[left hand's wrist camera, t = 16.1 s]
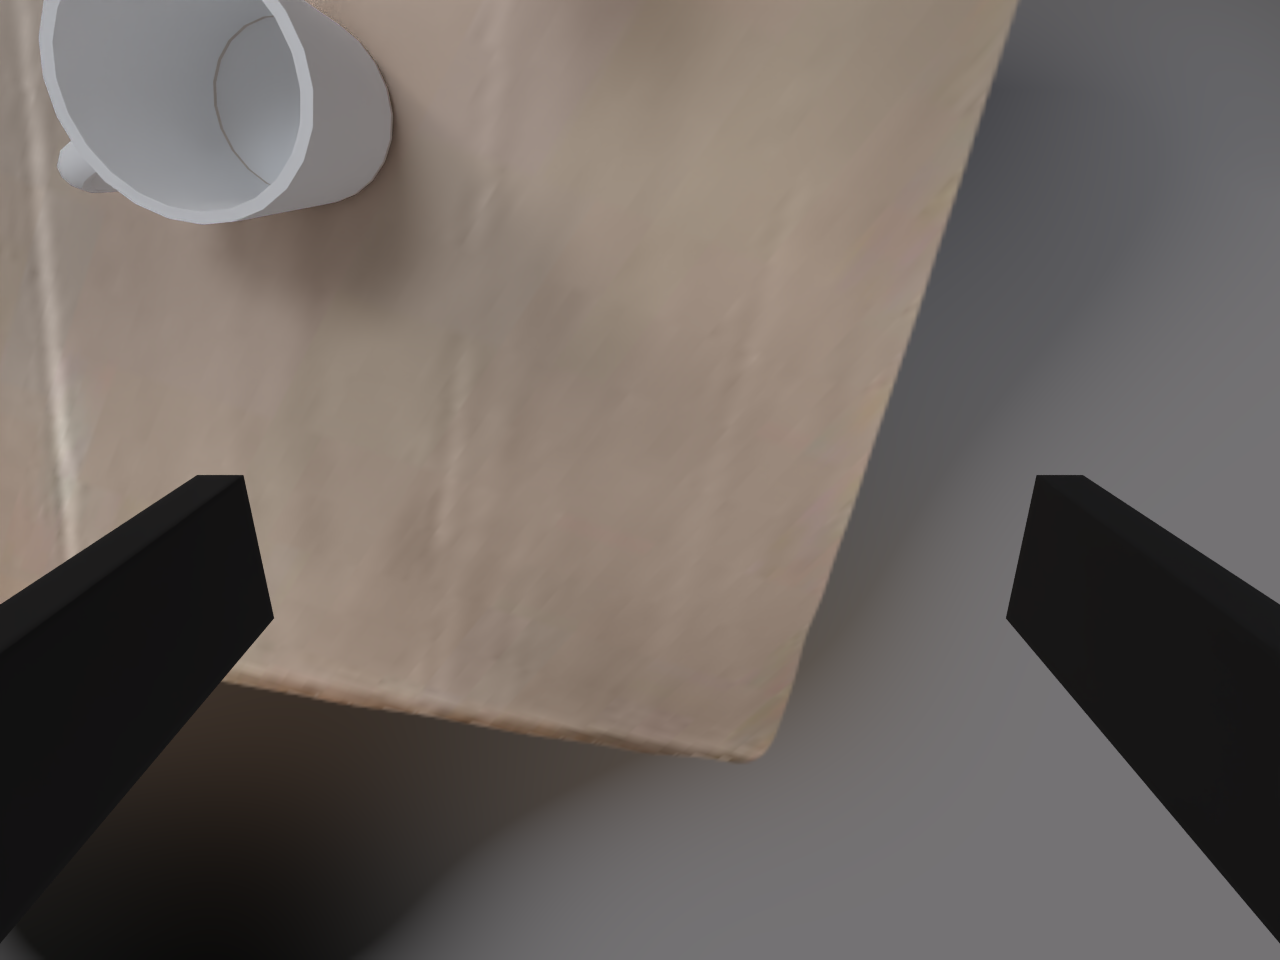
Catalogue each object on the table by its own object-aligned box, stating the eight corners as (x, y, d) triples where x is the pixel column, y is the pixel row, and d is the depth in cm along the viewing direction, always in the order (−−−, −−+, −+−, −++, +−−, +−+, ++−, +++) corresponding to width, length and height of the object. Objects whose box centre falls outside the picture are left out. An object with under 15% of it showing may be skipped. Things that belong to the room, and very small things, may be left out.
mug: (327, -44, 32) (194, -142, 22) (441, 155, 35) (367, 145, 25) (132, 89, 34) (-68, 51, 24) (256, 267, 37) (121, 297, 27)
